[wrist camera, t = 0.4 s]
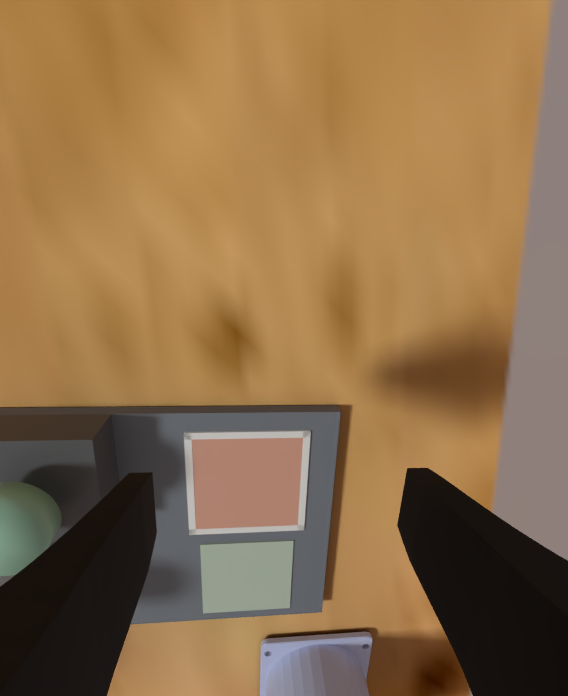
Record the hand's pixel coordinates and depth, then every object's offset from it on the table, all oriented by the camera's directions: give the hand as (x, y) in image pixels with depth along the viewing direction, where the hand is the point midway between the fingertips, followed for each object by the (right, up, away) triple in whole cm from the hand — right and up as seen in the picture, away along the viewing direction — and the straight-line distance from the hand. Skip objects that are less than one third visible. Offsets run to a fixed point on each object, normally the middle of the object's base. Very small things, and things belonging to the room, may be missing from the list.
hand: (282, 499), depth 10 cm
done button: (-12, -3, +6) cm, 13 cm away
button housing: (-12, -2, +9) cm, 15 cm away
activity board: (-8, -6, +12) cm, 15 cm away
